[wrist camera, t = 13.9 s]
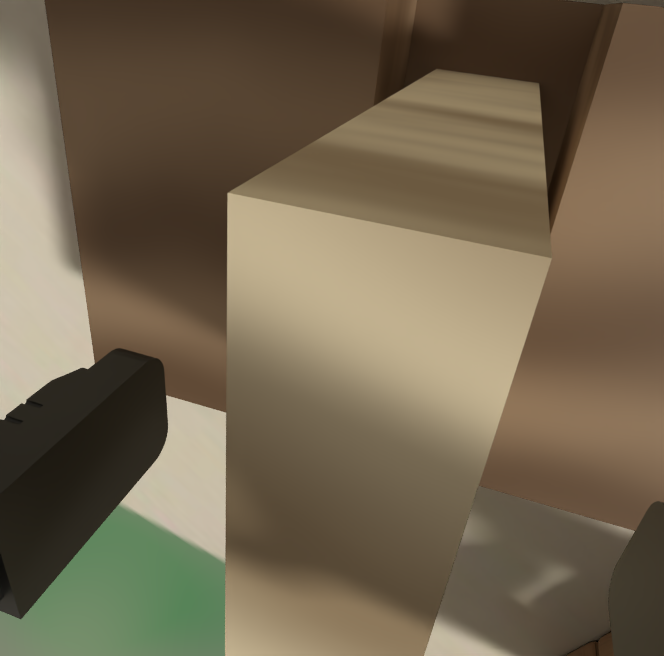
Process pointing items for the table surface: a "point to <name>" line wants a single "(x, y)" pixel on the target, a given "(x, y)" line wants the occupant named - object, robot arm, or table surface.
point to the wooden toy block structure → (596, 648)
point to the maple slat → (374, 360)
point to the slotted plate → (335, 110)
